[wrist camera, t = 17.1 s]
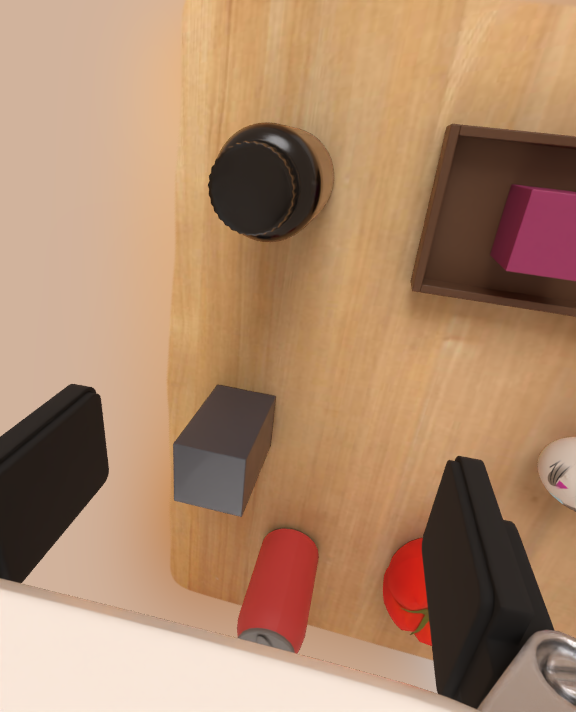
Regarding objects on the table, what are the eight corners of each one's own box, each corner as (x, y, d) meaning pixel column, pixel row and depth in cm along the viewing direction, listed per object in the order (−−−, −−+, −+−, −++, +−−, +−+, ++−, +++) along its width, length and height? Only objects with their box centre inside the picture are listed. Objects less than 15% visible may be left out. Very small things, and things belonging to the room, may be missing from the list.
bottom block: (215, 433, 46) (173, 500, 37) (217, 384, 43) (172, 443, 34) (270, 445, 45) (241, 517, 36) (276, 395, 42) (246, 460, 33)
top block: (489, 255, 33) (505, 271, 28) (511, 184, 30) (532, 189, 26) (560, 265, 32) (588, 283, 27) (588, 193, 30) (623, 200, 25)
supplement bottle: (244, 215, 36) (184, 240, 25) (254, 121, 33) (190, 105, 22) (326, 231, 35) (300, 265, 24) (345, 136, 32) (323, 128, 21)
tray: (410, 282, 35) (411, 291, 33) (446, 126, 30) (451, 123, 28) (613, 313, 33) (630, 325, 31) (687, 151, 28) (714, 151, 26)
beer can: (311, 523, 48) (289, 628, 37) (325, 566, 50) (308, 677, 40) (256, 526, 50) (221, 626, 39) (272, 567, 52) (242, 673, 42)
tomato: (461, 521, 44) (475, 587, 37) (480, 584, 47) (496, 655, 40) (371, 532, 47) (368, 595, 40) (394, 590, 50) (395, 658, 43)
